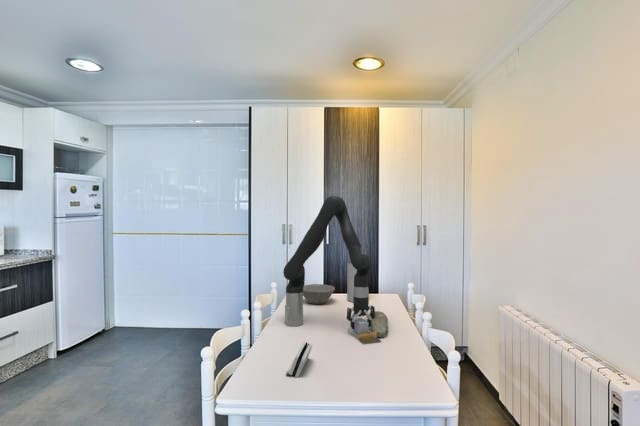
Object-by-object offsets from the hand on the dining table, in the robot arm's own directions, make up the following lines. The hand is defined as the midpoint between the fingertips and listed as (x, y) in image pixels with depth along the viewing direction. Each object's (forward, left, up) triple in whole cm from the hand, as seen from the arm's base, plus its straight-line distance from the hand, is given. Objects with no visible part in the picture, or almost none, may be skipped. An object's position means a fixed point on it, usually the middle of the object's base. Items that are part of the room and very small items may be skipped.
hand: (360, 328), depth 169 cm
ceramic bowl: (-2, +62, -3) cm, 62 cm away
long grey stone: (+14, +8, -3) cm, 16 cm away
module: (0, 0, -3) cm, 3 cm away
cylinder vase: (+25, +59, -3) cm, 64 cm away
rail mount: (0, -3, -3) cm, 4 cm away
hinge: (-38, -25, -4) cm, 45 cm away
